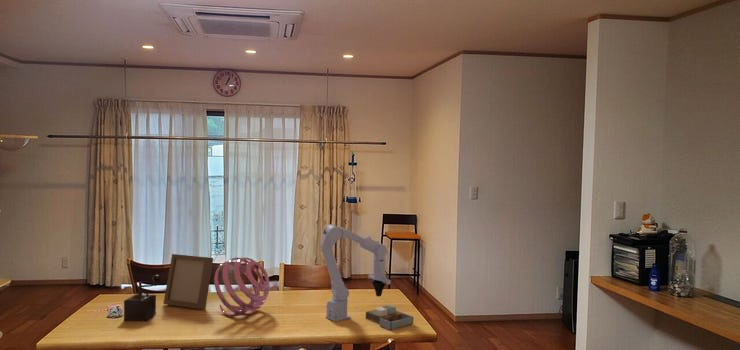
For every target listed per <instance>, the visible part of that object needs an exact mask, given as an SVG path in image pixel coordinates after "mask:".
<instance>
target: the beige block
mask: <svg viewBox="0 0 740 350" xmlns="http://www.w3.org/2000/svg"><path fill="white" fill-rule="evenodd" d="M373 310H374V314H375V315H377V316H384V315H388V309H386V308H383V306H379V307H374V308H373Z"/></svg>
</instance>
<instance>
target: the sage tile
mask: <svg viewBox="0 0 740 350" xmlns="http://www.w3.org/2000/svg"><path fill="white" fill-rule="evenodd" d="M382 307H383V308H386V309H388V314H392V313H396V311H397V306H395V305H392V304H386V305H383V306H382Z"/></svg>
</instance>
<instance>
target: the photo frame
mask: <svg viewBox="0 0 740 350" xmlns="http://www.w3.org/2000/svg"><path fill="white" fill-rule="evenodd" d="M213 263H214V257H207V256H206V257H205V256H198V255H197V256H195V255H188V254H187V255H186V254H185V255H184V254H176V253H171V258H170V264H169V269H168V276H167V281H166V286H165V287H166V288H165V293H164V298H163V299H164V300H163V305H170V306H177V307H183V308H184V307H185V308H189V309H190V308H192V309H197V310H203V309H206V308H207V307H206V306H207V301H208V295H209V289H210V288H209V287H210V281H211V278H212V277H211V276H212V270H213Z"/></svg>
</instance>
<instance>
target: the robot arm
mask: <svg viewBox="0 0 740 350" xmlns="http://www.w3.org/2000/svg"><path fill="white" fill-rule="evenodd" d="M345 238H347V239H349V240H351V241H353V242H356V243H358V244H359V246H360V248H362V249H364V250H366V251H368V252H370V253H373V267H372V269H373V270H372V271H373V274H371V273H369V274H368V275H367V279H370V280H373V281H372V282H371V284H372V285H373V288H374V291H375V296H376V297H379V298H380V297H382V294H383V290H384V288H385V286H386V285H391V281H392V280H391V279H389V278H387V276H386V256H387V254H388V248H387V246H386V245H384V244H383V243H381V242H380V241H378V240H375V239H373V238H372V237H371V236H369V235H368V236H360V235H359V234H356V233H354V232H352V231H350V230H348V229H347V228H344V227H341V226H339V225H337V226H336V225H335V224H332V223H331V224H330V223H329V224H327V226H326V227H324V229H323V230H322V238H321V241H320V250H321V252H322V255H323V258H324V261H325V262H324V263H325V265H326V268H327V272H328V275H329V277H330V278H329V279H330V281H331V282H330V283H331V284H330V285H331V288H330V289H331V291H330V292H331V293H332V298H331V300H328V301H327V303H326V314H325V318H326V317H327V318H326V319H328V318H329V320H330V319H331V321H332V320H333V321H332V322H335V321H336V322H339V320H340V321H344V320H348V319H351V316H350V315H348V297H350V296H349V295H350V292H349V289H348V288H347V287H346V285H345V283H344V281H343V279H342V275H341V272H340V268H339V266H338V262H337V260H336V256H335V254H334V249H333V246H334V245H335V244H336V243H337V242H338V241H339V240H340V239H345ZM347 318H348V319H347ZM343 319H344V320H343Z"/></svg>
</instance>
